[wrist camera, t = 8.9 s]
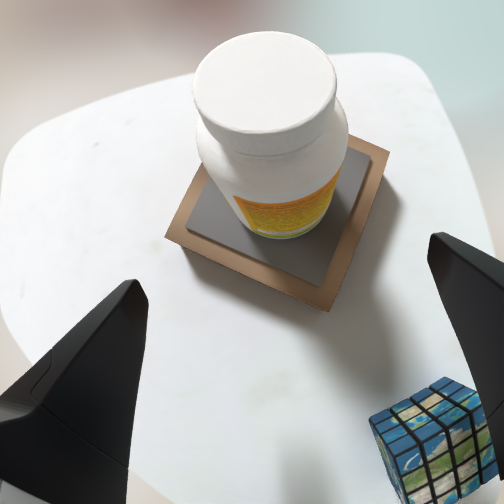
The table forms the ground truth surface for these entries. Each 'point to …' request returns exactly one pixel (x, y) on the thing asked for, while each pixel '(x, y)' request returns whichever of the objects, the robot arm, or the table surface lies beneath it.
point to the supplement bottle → (271, 130)
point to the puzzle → (436, 444)
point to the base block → (293, 249)
